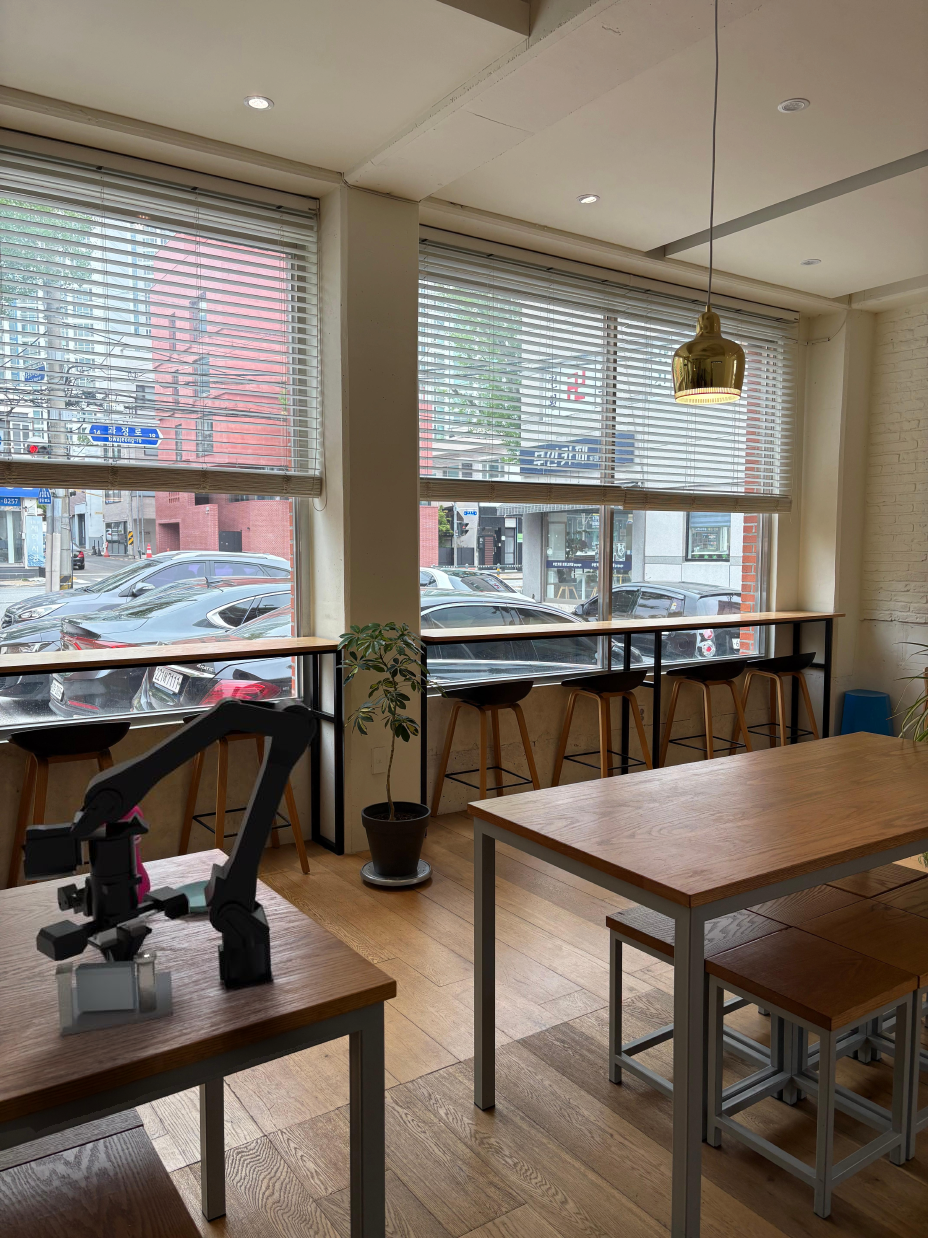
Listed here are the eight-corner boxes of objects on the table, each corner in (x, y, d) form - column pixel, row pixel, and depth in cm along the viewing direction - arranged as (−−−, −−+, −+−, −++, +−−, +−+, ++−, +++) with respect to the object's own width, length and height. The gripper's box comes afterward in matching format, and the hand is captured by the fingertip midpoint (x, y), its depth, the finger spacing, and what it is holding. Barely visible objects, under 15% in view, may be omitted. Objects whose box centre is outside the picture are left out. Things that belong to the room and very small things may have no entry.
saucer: (170, 924, 143) (169, 910, 143) (165, 898, 154) (164, 885, 154) (245, 911, 148) (244, 898, 147) (235, 887, 158) (235, 875, 158)
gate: (137, 1002, 116) (135, 961, 115) (132, 1009, 114) (130, 967, 113) (82, 1005, 115) (80, 963, 115) (77, 1012, 113) (75, 970, 113)
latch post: (76, 1019, 114) (73, 961, 113) (74, 1032, 111) (70, 972, 110) (60, 1022, 113) (57, 964, 112) (58, 1035, 110) (54, 975, 109)
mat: (170, 974, 125) (170, 971, 125) (172, 1015, 114) (172, 1011, 114) (69, 991, 121) (69, 988, 121) (61, 1036, 110) (61, 1032, 110)
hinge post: (159, 1005, 117) (156, 949, 116) (159, 1015, 114) (156, 958, 113) (136, 1009, 116) (133, 952, 115) (136, 1020, 113) (133, 961, 113)
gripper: (146, 838, 130) (152, 943, 131) (13, 876, 115) (21, 993, 117) (189, 854, 122) (195, 964, 124) (53, 896, 108) (61, 1020, 109)
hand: (120, 983), depth 118 cm, fingers closed
